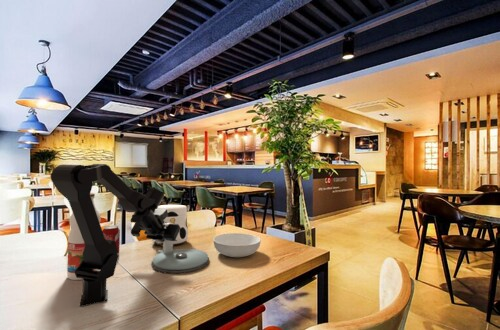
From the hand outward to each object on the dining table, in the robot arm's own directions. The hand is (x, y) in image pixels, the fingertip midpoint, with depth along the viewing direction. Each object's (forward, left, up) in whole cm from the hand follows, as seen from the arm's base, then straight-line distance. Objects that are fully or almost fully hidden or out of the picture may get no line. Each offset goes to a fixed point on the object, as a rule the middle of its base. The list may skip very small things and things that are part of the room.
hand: (163, 241), depth 104 cm
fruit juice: (-4, +27, -7) cm, 28 cm away
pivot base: (-5, -6, -7) cm, 11 cm away
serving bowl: (-7, -30, -8) cm, 32 cm away
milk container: (+21, -7, -8) cm, 24 cm away
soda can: (+14, +19, -8) cm, 25 cm away
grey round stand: (-6, -5, -6) cm, 10 cm away
